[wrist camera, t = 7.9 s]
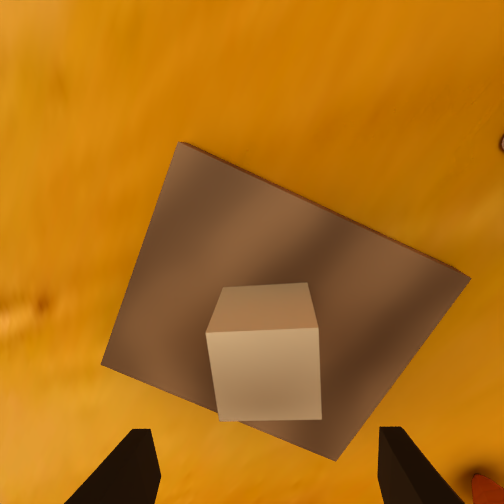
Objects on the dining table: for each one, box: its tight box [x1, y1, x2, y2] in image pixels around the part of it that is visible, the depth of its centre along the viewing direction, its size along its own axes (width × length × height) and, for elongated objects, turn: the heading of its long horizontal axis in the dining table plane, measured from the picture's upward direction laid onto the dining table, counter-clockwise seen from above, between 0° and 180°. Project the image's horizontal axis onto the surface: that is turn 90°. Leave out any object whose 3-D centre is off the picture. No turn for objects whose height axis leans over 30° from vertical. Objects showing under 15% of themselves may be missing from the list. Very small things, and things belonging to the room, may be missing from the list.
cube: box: [206, 283, 322, 421], centre depth 15 cm, size 4×4×4 cm
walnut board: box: [101, 142, 472, 461], centre depth 18 cm, size 16×14×2 cm
